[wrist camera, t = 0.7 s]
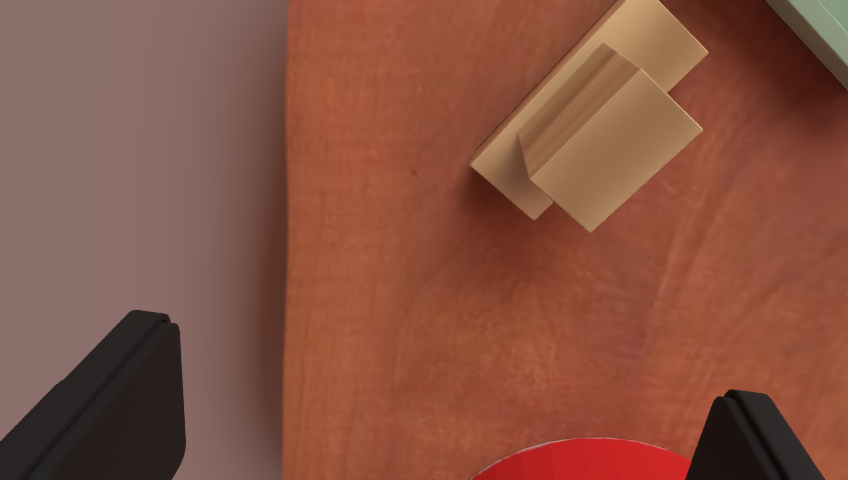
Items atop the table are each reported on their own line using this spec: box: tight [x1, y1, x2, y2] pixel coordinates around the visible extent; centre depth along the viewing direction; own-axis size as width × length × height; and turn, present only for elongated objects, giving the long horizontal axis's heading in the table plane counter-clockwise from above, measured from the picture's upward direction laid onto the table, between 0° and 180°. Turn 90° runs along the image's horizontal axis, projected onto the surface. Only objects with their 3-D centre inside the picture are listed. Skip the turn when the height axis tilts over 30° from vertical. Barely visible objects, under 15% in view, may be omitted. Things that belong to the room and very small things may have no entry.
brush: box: [470, 0, 709, 233], centre depth 25 cm, size 4×10×9 cm, turn 139°
